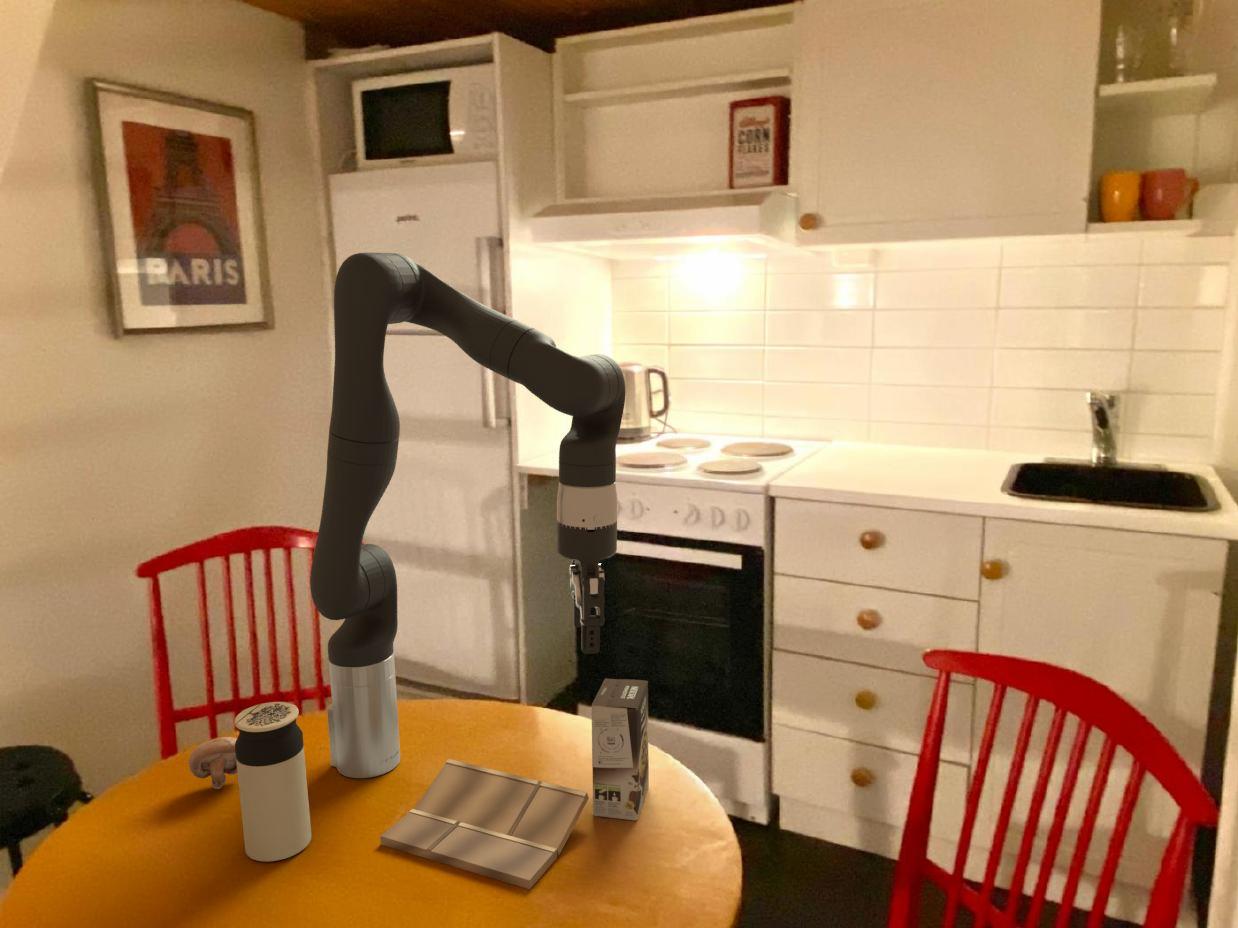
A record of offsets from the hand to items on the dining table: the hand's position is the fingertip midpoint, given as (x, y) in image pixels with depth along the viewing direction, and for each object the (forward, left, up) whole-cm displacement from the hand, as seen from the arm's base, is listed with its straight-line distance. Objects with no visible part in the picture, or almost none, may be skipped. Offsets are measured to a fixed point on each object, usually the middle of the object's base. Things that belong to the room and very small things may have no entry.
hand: (586, 638), depth 118 cm
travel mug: (-34, -21, -26) cm, 48 cm away
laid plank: (-11, -13, -25) cm, 30 cm away
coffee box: (+2, +6, -26) cm, 26 cm away
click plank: (-11, -4, -24) cm, 27 cm away
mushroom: (-52, -14, -26) cm, 60 cm away
